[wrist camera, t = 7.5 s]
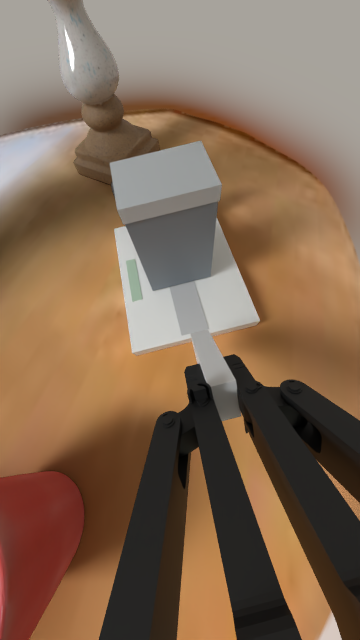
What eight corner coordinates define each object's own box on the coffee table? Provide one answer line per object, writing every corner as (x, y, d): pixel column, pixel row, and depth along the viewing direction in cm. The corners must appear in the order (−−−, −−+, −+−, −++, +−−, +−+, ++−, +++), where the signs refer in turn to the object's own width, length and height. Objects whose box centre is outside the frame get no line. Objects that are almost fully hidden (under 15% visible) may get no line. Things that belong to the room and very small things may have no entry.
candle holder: (126, 190, 33) (-19, -233, 11) (77, 173, 36) (-119, -193, 14) (161, 151, 36) (103, -243, 14) (113, 138, 39) (1, -208, 17)
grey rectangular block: (211, 277, 24) (221, 184, 13) (152, 291, 24) (117, 210, 13) (199, 243, 26) (200, 140, 15) (144, 257, 26) (109, 162, 15)
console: (256, 325, 23) (281, 292, 16) (136, 355, 23) (109, 336, 16) (210, 213, 30) (214, 157, 23) (118, 236, 29) (93, 186, 23)
